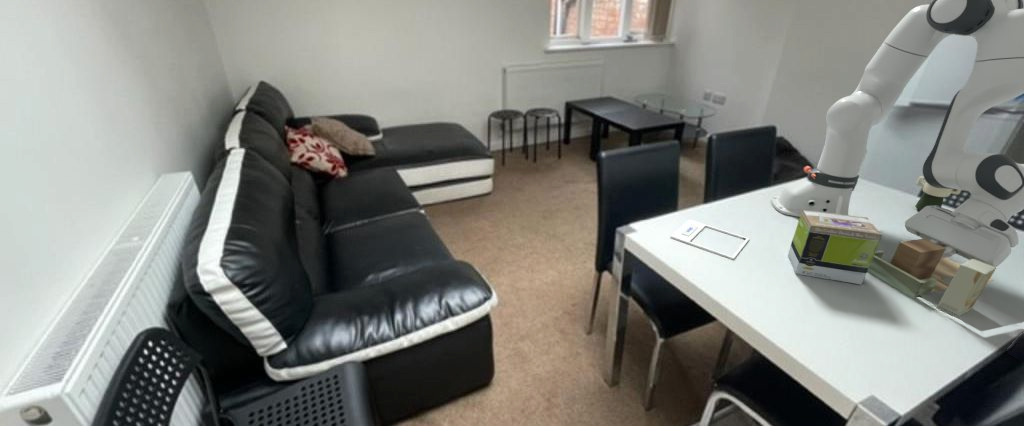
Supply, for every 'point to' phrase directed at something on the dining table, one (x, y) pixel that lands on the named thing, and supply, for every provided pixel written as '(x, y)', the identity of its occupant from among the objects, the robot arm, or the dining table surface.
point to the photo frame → (694, 228)
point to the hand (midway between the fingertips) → (928, 258)
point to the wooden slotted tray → (909, 282)
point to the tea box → (833, 246)
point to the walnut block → (918, 257)
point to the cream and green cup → (932, 195)
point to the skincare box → (966, 287)
